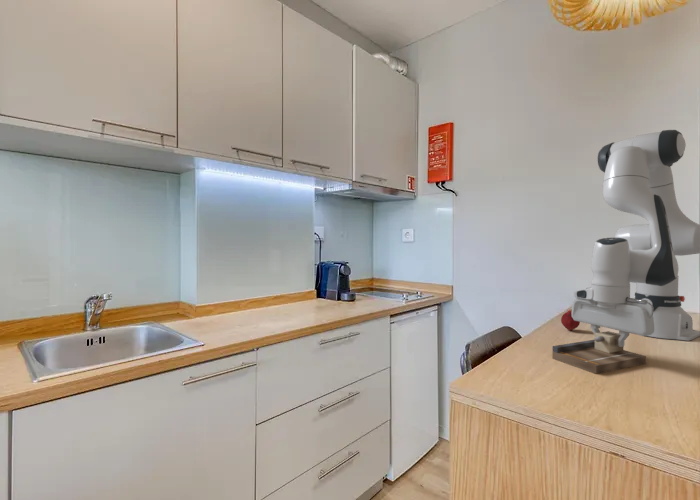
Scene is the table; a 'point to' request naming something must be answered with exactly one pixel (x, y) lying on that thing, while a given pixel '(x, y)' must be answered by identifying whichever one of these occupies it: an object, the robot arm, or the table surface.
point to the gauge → (607, 342)
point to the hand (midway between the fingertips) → (609, 343)
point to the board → (595, 357)
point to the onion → (569, 321)
